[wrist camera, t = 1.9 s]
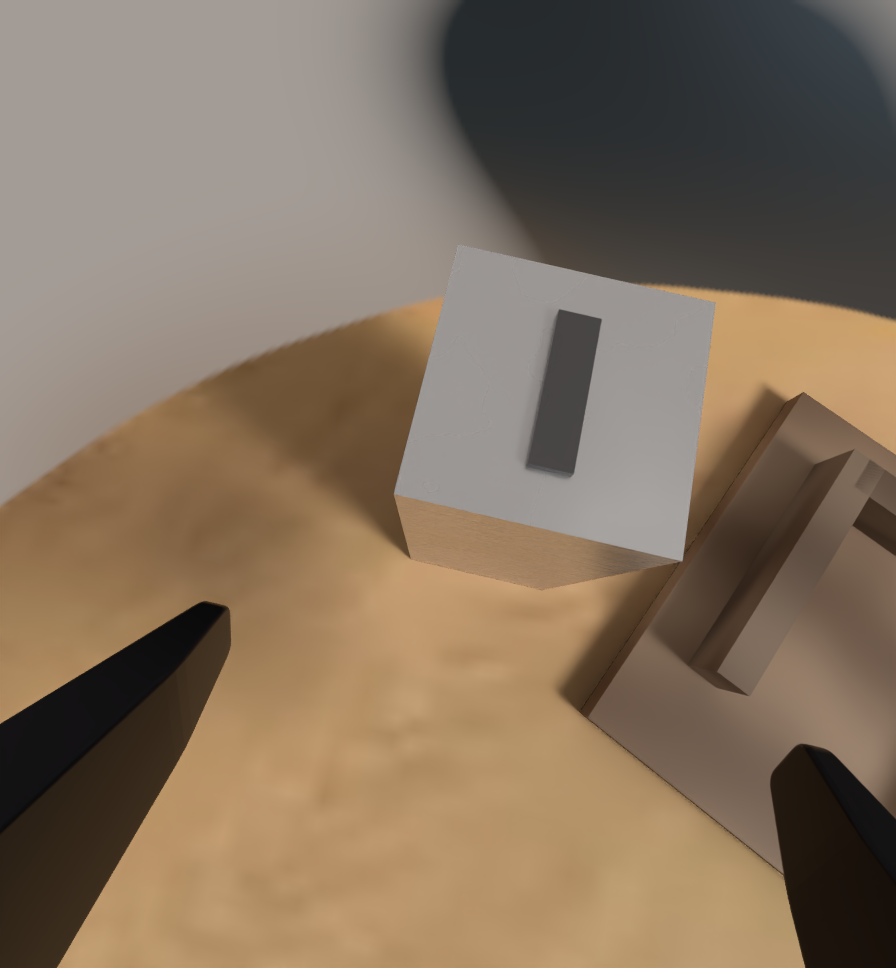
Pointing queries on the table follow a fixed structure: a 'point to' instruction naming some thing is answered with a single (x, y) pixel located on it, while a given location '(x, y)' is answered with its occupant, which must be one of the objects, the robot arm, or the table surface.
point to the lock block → (554, 425)
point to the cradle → (771, 631)
